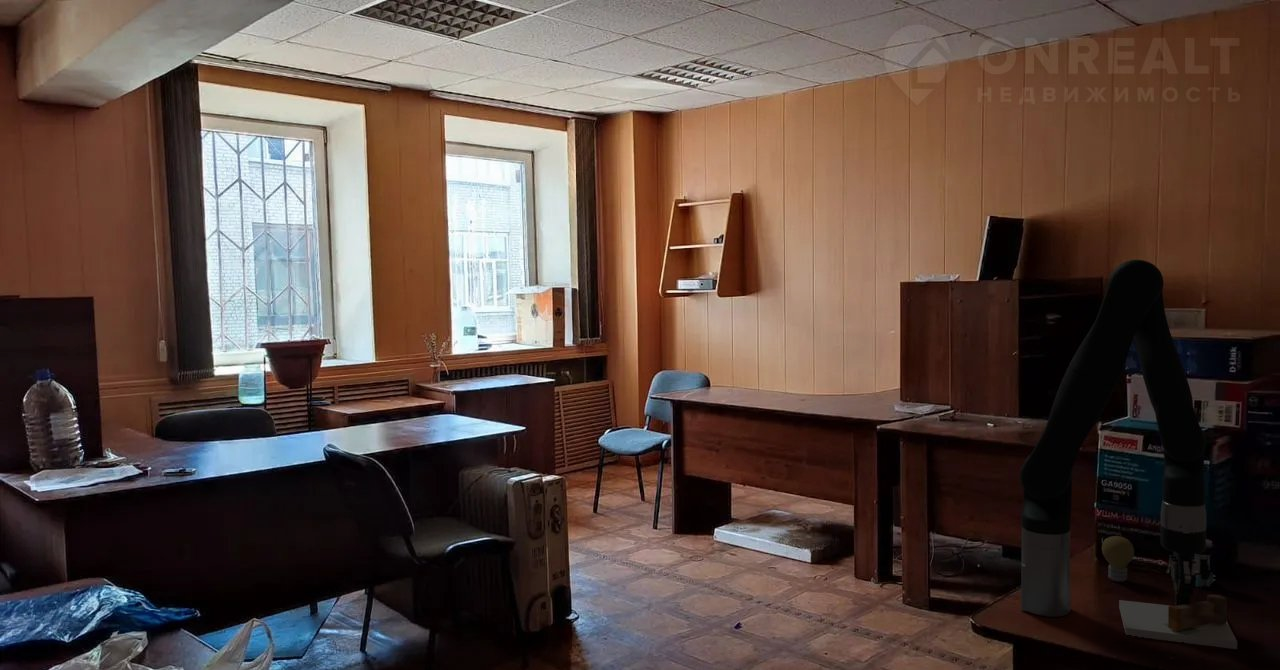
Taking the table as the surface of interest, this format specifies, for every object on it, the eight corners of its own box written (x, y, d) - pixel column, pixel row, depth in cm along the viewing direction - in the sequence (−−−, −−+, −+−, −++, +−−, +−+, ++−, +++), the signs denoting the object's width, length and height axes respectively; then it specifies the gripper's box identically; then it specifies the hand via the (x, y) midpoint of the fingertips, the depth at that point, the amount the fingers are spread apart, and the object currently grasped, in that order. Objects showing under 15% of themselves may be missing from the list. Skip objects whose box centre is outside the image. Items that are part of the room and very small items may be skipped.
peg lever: (1215, 617, 171) (1215, 593, 171) (1230, 623, 168) (1230, 599, 168) (1165, 626, 168) (1165, 602, 167) (1179, 632, 165) (1179, 608, 164)
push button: (1203, 578, 197) (1203, 534, 196) (1226, 586, 192) (1227, 541, 191) (1181, 582, 194) (1182, 538, 194) (1204, 590, 189) (1205, 545, 189)
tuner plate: (1125, 635, 169) (1125, 627, 168) (1119, 607, 182) (1119, 599, 182) (1237, 649, 161) (1237, 640, 161) (1221, 618, 175) (1221, 610, 175)
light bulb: (1095, 576, 200) (1095, 533, 199) (1121, 574, 201) (1121, 531, 200) (1113, 586, 194) (1113, 542, 193) (1140, 584, 194) (1140, 540, 194)
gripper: (1156, 513, 176) (1155, 597, 178) (1165, 533, 164) (1164, 622, 166) (1199, 516, 173) (1198, 601, 175) (1212, 536, 161) (1211, 627, 163)
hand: (1182, 611), depth 170 cm, fingers closed
